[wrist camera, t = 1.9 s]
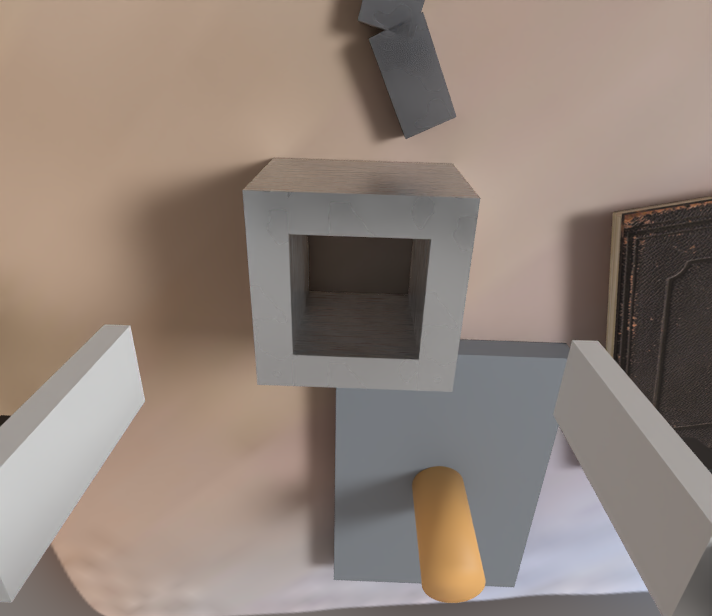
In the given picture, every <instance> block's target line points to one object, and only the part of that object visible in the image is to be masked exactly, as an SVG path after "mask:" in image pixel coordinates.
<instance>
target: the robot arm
mask: <svg viewBox="0 0 712 616" xmlns="http://www.w3.org/2000/svg"><path fill="white" fill-rule="evenodd" d="M144 402H145V398H144V393H143V388H142V383H141V377H140V372H139V367H138V362H137V357H136V352H135V347H134V342H133V337H132V332H131V326H130V325H104V326H103V327H101V328H100V329H99V330H98V331H97V332H96V333H95V334H94V335H93V336H92V337H91V338H90V339H89V340H88V341H87V342H86V343H85V344H84V345H83V346H82V347H81V348H80V349H79V350H78V351H77V352H76V353H75V354H74V355H73V356H72V357H71V358H70V359H69V360H68V361H67V362H66V363H65V364H64V365H63V366H62V367H61V368H60V369H59V370H58V371H57V372H56V373H55V374H54V375H53V376H52V377H51V378H49V379H48V380H47V381H46V382H45V383H44V384H43V385H42V386H41V387H40V388H39V389H38V390H37V391H36V392H35V393H34V394H33V395H32V396H31V397H30V398H29V399H28V400H27V401H26V402H25V403H24V404H23V405H22V406H21V407H20V408H19V409H18V410H17V411H16V412H15V413H14V414H13V415H12V416H5V415H1V416H0V602H12V601H13V599H14V598H15V596H16V595H17V593H18V592H19V590H20V589H21V587H22V586H23V584H24V583H25V581H26V580H27V578H28V577H29V575H30V574H31V572H32V571H33V569H34V568H35V566H36V565H37V563H38V562H39V560H40V559H41V557H42V556H43V554H44V553H45V551H46V550H47V548H48V546H49V545H50V544H51V542H52V541H53V539H54V538H55V536H56V535H57V533H58V532H59V530H60V529H61V527H62V526H63V524H64V523H65V521H66V519H67V518H68V516H69V515H70V513H71V512H72V510H73V509H74V507H75V506H76V504H77V503H78V501H79V500H80V498H81V497H82V495H83V494H84V492H85V491H86V489H87V488H88V486H89V485H90V483H91V482H92V480H93V479H94V477H95V476H96V474H97V473H98V471H99V470H100V468H101V467H102V465H103V464H104V462H105V461H106V459H107V458H108V456H109V455H110V453H111V452H112V450H113V449H114V447H115V446H116V444H117V443H118V441H119V440H120V438H121V437H122V435H123V434H124V432H125V431H126V429H127V428H128V426H129V424H130V423H131V421H132V420H133V418H134V417H135V415H136V414H137V412H138V411H139V409H140V408H141V406H142V405H143V403H144ZM553 415H554V417H555V419H556V421H557V423H558V425H559V426H560V428H561V430H562V432H563V434H564V436H565V438H566V439H567V441H568V443H569V445H570V447H571V449H572V450H573V452H574V454H575V456H576V458H577V460H578V462H579V463H580V465H581V467H582V469H583V471H584V473H585V474H586V476H587V478H588V480H589V482H590V484H591V486H592V487H593V489H594V491H595V493H596V495H597V497H598V498H599V500H600V502H601V504H602V506H603V508H604V510H605V511H606V513H607V515H608V517H609V519H610V521H611V522H612V524H613V526H614V528H615V530H616V532H617V533H618V535H619V537H620V539H621V541H622V543H623V545H624V546H625V548H626V550H627V552H628V554H629V556H630V557H631V559H632V561H633V563H634V565H635V567H636V569H637V570H638V572H639V574H640V576H641V578H642V580H643V581H644V583H645V585H646V587H647V589H648V591H649V593H650V594H651V596H652V598H653V600H654V602H655V604H656V605H657V607H658V609H659V611H660V613H661V615H662V616H712V450H711V449H710V448H708V447H707V446H705V445H704V444H702V443H701V442H699V441H698V440H697V439H695V438H694V437H680V436H679V435H678V434H677V433H676V432H675V431H674V429H673V428H672V427H671V426H670V425H669V424H668V422H667V421H666V420H665V419H664V418H663V416H662V415H661V414H660V413H659V412H658V411H657V409H656V408H655V407H654V406H653V405H652V404H651V402H650V401H649V400H648V399H647V398H646V397H645V395H644V394H643V393H642V392H641V391H640V390H639V388H638V387H637V386H636V385H635V384H634V382H633V381H632V380H631V379H630V378H629V377H628V375H627V374H626V373H625V372H624V371H623V370H622V368H621V367H620V366H619V365H618V364H617V363H616V361H615V360H614V359H613V358H612V357H611V356H610V354H609V353H608V352H607V351H606V350H605V349H604V347H603V346H602V345H601V344H600V343H599V341H586V340H572V343H571V347H570V350H569V354H568V358H567V362H566V366H565V370H564V374H563V378H562V382H561V386H560V390H559V394H558V398H557V402H556V405H555V409H554V413H553Z"/></svg>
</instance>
